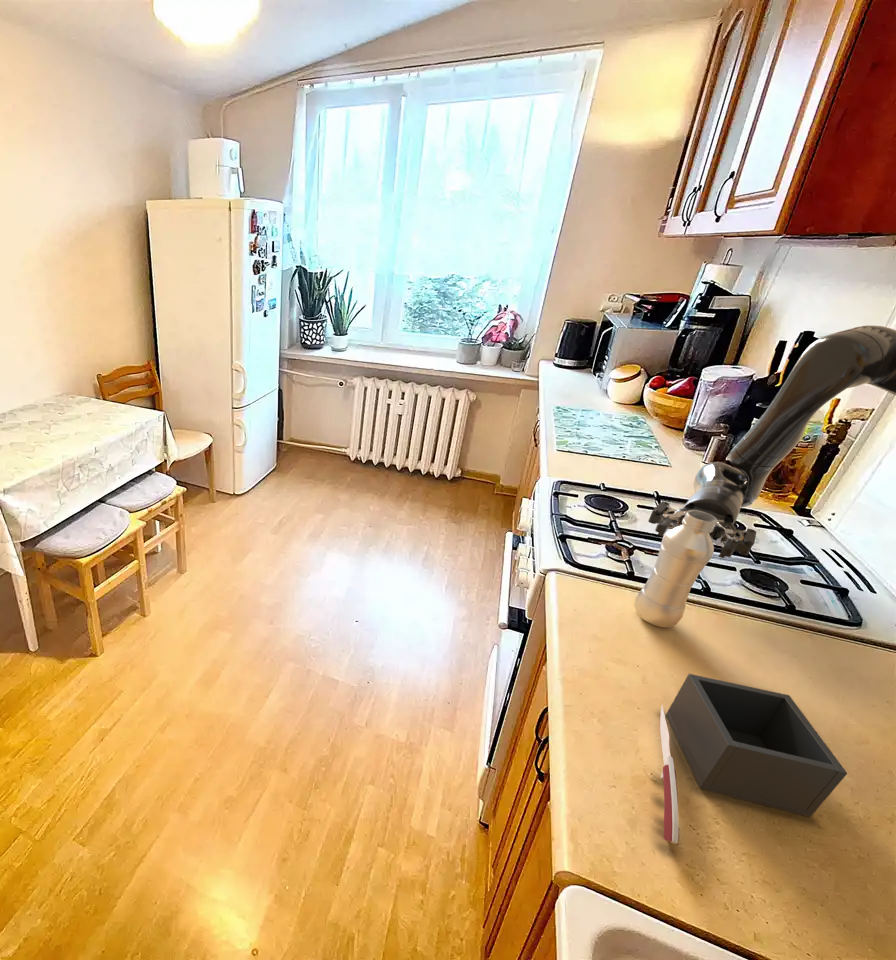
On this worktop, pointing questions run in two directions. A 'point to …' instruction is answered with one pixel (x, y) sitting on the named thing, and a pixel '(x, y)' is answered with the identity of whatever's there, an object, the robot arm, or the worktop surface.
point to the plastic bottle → (676, 569)
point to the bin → (752, 745)
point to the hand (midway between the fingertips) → (691, 541)
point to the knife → (669, 787)
